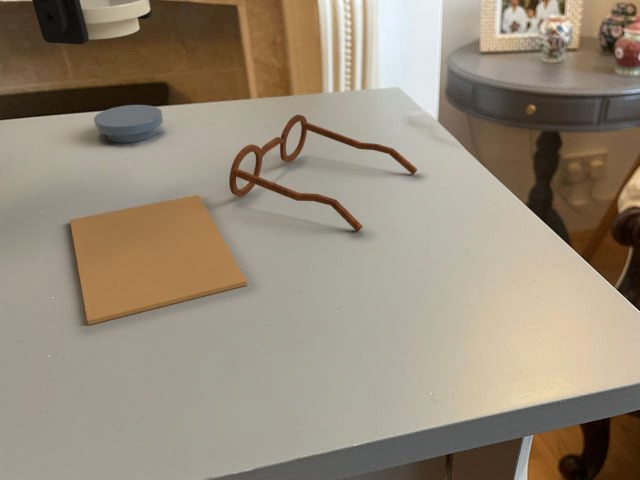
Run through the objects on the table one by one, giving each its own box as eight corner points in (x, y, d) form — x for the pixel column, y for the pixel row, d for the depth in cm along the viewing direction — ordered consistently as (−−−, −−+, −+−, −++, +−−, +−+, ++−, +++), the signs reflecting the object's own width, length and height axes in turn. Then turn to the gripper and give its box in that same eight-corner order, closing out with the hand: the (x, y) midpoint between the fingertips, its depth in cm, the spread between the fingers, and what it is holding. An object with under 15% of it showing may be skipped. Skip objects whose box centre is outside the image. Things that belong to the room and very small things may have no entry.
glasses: (302, 154, 68) (298, 107, 66) (417, 174, 64) (419, 125, 61) (229, 207, 59) (221, 154, 56) (360, 235, 54) (358, 179, 51)
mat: (70, 223, 56) (69, 219, 56) (199, 198, 60) (198, 194, 60) (88, 325, 44) (86, 320, 44) (247, 285, 48) (246, 280, 48)
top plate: (26, 40, 45) (16, 6, 44) (89, 18, 51) (81, -13, 50) (118, 45, 44) (110, 10, 43) (172, 22, 50) (166, -9, 48)
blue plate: (84, 143, 71) (79, 123, 70) (122, 120, 77) (118, 102, 76) (143, 149, 70) (139, 129, 69) (177, 125, 76) (173, 107, 74)
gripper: (64, -271, 45) (123, 3, 55) (-167, -323, 31) (-32, 57, 41) (162, -276, 44) (204, 7, 54) (-36, -334, 30) (71, 64, 40)
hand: (101, 27), depth 47 cm, fingers closed on top plate, 7 cm apart
